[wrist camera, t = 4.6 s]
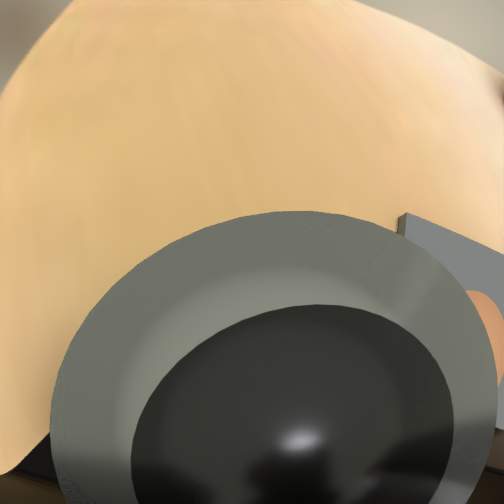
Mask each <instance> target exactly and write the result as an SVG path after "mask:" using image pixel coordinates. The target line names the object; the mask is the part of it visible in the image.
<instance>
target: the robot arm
mask: <svg viewBox="0 0 504 504" xmlns="http://www.w3.org/2000/svg"><path fill="white" fill-rule="evenodd" d="M0 504H68V503H67V501H66V499H65V497H64V495H63V492H62V490H61V488H60V485H59V482H58V478H57V474H56V471H55V467H54V463H53V459H52V450H51V440H50V432H49V433H48V434H47V435H46V436H45V437H44V439H43V440H42V441H41V442H40V443H39V444H38V445H37V446H36V447H35V448H34V449H33V450H32V451H31V452H30V453H29V454H28V455H27V456H26V457H25V458H24V459H23V460H22V461H21V462H20V463H19V464H18V465H17V466H16V467H14V468H13V469H12V470H10V471H8V472H7V473H5V474H2V475H0ZM466 504H504V430H502V429H499V428H497V427H495V431H494V436H493V441H492V445H491V449H490V452H489V455H488V458H487V461H486V464H485V467H484V469H483V471H482V474H481V476H480V478H479V480H478V483H477V485H476V487H475V489H474V491H473V492H472V494H471V496H470V498H469V499H468V501H467V503H466Z"/></svg>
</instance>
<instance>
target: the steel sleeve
mask: <svg viewBox="0 0 504 504" xmlns="http://www.w3.org/2000/svg"><path fill="white" fill-rule="evenodd" d="M497 408H498V381H497V370H496V364H495V359H494V354H493V349H492V346H491V343H490V340H489V336H488V333H487V330H486V328H485V325H484V323H483V321H482V319H481V317H480V315H479V313H478V311H477V309H476V307H475V305H474V303H473V302H472V300H471V299H470V297H469V296H468V294H467V293H466V291H465V290H464V288H463V287H462V285H461V284H460V283H459V282H458V281H457V280H456V279H455V277H454V276H453V275H452V274H451V273H450V272H449V271H448V270H447V269H446V267H445V266H443V265H442V264H441V263H440V262H439V261H438V260H436V259H435V258H434V257H433V256H432V255H430V254H429V253H428V252H427V251H426V250H424V249H423V248H421V247H420V246H418V245H416V244H415V243H413V242H411V241H410V240H408V239H407V238H405V237H403V236H402V235H400V234H398V233H395V232H393V231H391V230H388V229H386V228H384V227H381V226H379V225H377V224H374V223H371V222H368V221H364V220H360V219H356V218H353V217H349V216H345V215H339V214H331V213H323V212H314V211H283V212H270V213H264V214H257V215H251V216H244V217H239V218H236V219H232V220H229V221H226V222H222V223H219V224H216V225H212V226H209V227H206V228H203V229H201V230H199V231H197V232H194V233H192V234H190V235H188V236H185V237H183V238H181V239H179V240H177V241H174V242H172V243H170V244H169V245H167V246H166V247H164V248H162V249H161V250H159V251H158V252H156V253H154V254H153V255H151V256H150V257H148V258H147V259H145V260H143V261H142V262H140V263H139V264H138V265H137V266H136V267H134V268H133V269H132V270H131V271H130V272H128V273H127V274H126V275H125V276H124V277H123V278H121V279H120V280H119V281H118V282H117V283H116V284H114V285H113V286H112V287H111V288H110V290H109V291H108V292H107V293H106V294H105V295H104V296H103V297H102V299H101V300H100V301H99V302H98V303H97V304H96V306H95V307H94V308H93V309H92V310H91V311H90V313H89V314H88V316H87V317H86V319H85V320H84V322H83V323H82V325H81V327H80V328H79V330H78V331H77V333H76V335H75V336H74V338H73V339H72V341H71V343H70V346H69V348H68V350H67V353H66V355H65V357H64V360H63V362H62V364H61V367H60V369H59V372H58V376H57V380H56V384H55V388H54V393H53V397H52V403H51V416H50V440H51V450H52V459H53V463H54V467H55V471H56V474H57V478H58V482H59V485H60V488H61V490H62V492H63V495H64V497H65V499H66V501H67V503H68V504H466V503H467V501H468V499H469V498H470V496H471V494H472V492H473V491H474V489H475V487H476V485H477V483H478V480H479V478H480V476H481V474H482V471H483V469H484V467H485V464H486V461H487V458H488V455H489V452H490V449H491V445H492V441H493V436H494V431H495V426H496V420H497Z"/></svg>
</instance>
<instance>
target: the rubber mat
mask: <svg viewBox="0 0 504 504" xmlns="http://www.w3.org/2000/svg"><path fill="white" fill-rule="evenodd" d="M398 234H400V235H402V236H403V237H405V238H407V239H408V240H410V241H411V242H413V243H415V244H416V245H418V246H420V247H421V248H423V249H424V250H426V251H427V252H428V253H429V254H430V255H432V256H433V257H434V258H435V259H436V260H438V261H439V262H440V263H441V264H442V265H443V266H445V267H446V269H447V270H448V271H449V272H450V273H451V274H452V275H453V276H454V277H455V279H456V280H457V281H458V282H459V283H460V284H461V285H462V287H463V288H464V290H465V291H466V293H467V294H468V296H469V297H470V299H471V300H472V302H473V303H474V305H475V307H476V309H477V311H478V313H479V315H480V317H481V319H482V321H483V323H484V325H485V328H486V330H487V333H488V336H489V340H490V343H491V346H492V349H493V354H494V359H495V364H496V370H497V381H498V408H497V420H496V426H495V427H497V428H499V429H502V430H504V255H503V254H501V253H499V252H497V251H495V250H493V249H490V248H488V247H486V246H484V245H482V244H480V243H478V242H475V241H473V240H471V239H469V238H467V237H464V236H462V235H460V234H458V233H455V232H453V231H451V230H448V229H446V228H444V227H441V226H439V225H437V224H434V223H432V222H429V221H427V220H425V219H422V218H420V217H417V216H415V215H412V214H410V213H405V214H404V215H402V216H400V217H399V223H398Z"/></svg>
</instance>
